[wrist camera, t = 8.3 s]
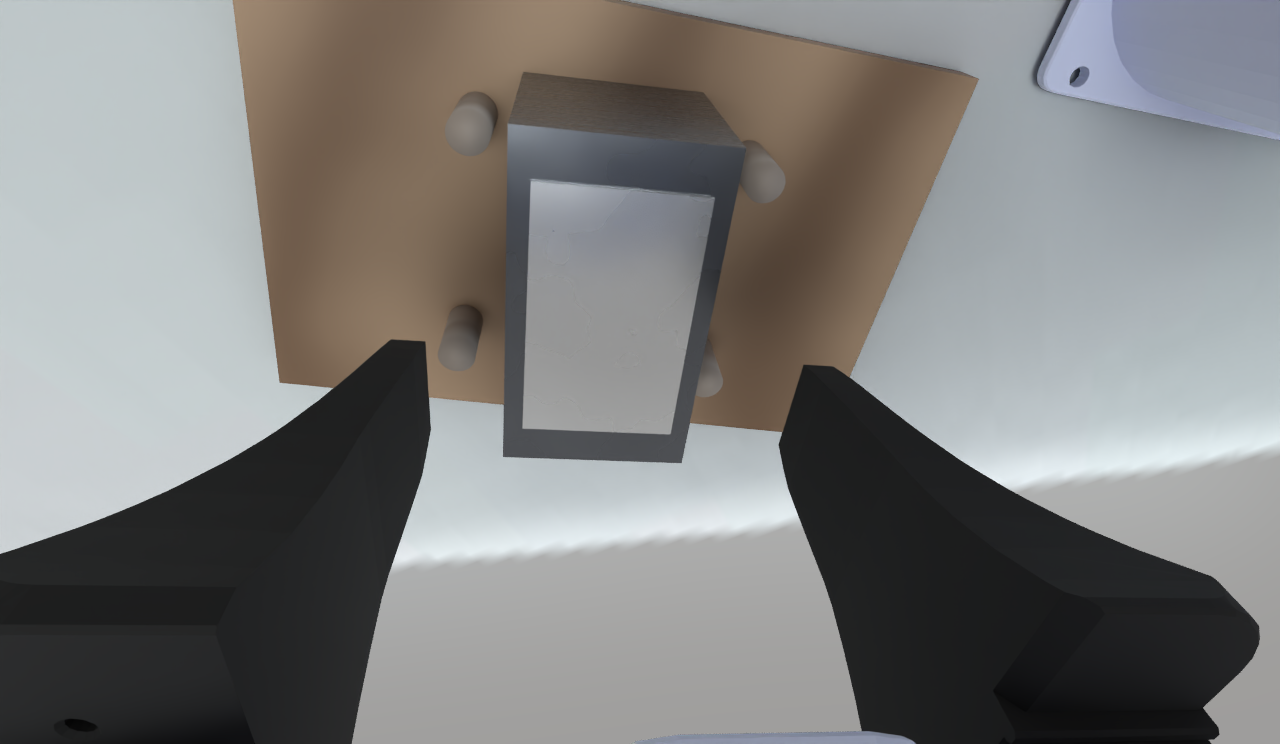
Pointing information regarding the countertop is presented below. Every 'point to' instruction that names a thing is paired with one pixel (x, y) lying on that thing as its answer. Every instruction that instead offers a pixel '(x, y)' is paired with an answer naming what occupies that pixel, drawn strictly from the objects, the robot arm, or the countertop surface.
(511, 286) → the block
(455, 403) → the countertop surface
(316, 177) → the pin tray
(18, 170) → the countertop surface
